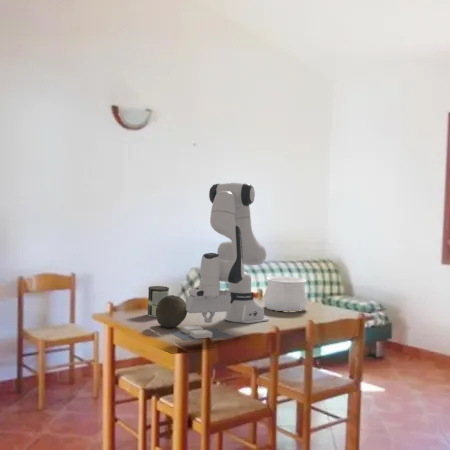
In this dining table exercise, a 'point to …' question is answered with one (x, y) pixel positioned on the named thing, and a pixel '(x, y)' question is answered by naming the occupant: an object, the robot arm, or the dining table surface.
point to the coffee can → (156, 298)
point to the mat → (215, 334)
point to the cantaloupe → (171, 311)
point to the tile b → (200, 334)
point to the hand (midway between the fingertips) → (208, 322)
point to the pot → (285, 294)
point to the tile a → (190, 329)
